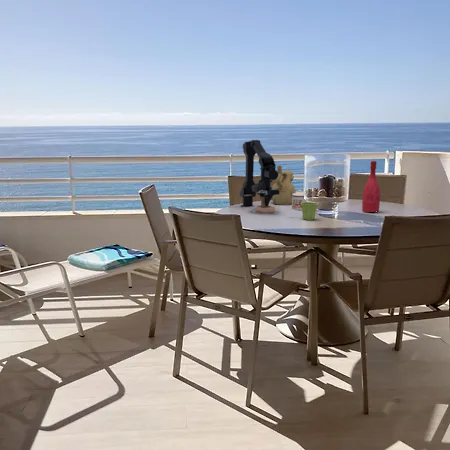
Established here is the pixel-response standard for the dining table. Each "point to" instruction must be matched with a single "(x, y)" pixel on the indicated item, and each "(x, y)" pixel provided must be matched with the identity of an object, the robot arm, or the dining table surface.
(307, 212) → the plant pot
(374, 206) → the wine bottle
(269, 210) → the open square box
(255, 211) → the slate board
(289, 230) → the dining table surface
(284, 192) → the ceramic vessel
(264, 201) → the beveled wooden wedge block
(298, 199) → the teacup with lid
